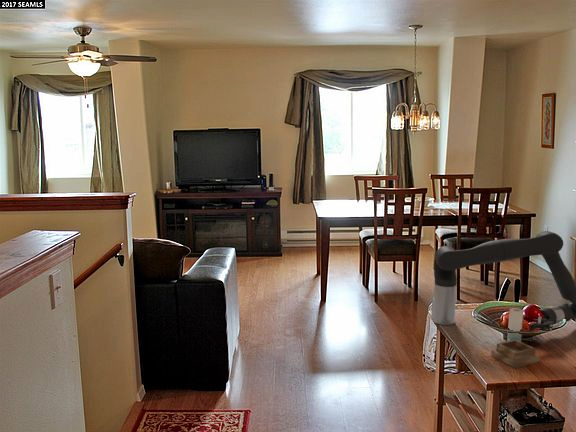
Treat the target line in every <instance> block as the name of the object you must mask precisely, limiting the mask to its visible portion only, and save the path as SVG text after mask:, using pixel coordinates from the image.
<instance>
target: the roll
mask: <svg viewBox="0 0 576 432" xmlns="http://www.w3.org/2000/svg"><path fill="white" fill-rule="evenodd" d="M523 311H524V310H523V309H522V308H517V307H512V308H509V311H508V313H509V315H508V325H507V326H508V327H507V329H508V328H509V329H510V330H513V331H520V330H521V329H522V330H523V322H524V321H523V319H524V318H523ZM506 337H507V340H506V341H510V340H514V339H516V340H518V341H520V342H522V334H519V333H508V332H507V336H506Z"/></svg>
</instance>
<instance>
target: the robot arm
mask: <svg viewBox="0 0 576 432" xmlns="http://www.w3.org/2000/svg"><path fill="white" fill-rule="evenodd" d="M563 247H564V240H563V238H562V236H560V235H559V234H557V233H556V232H552V231H550V230H543V231H540V232H538V233H537V234H536V236H534V237H530V238H529V237H528V238H502V239H496V240H490V241H486V242H483V243H481V244H479V245H476V246H474V247H472V248H467V249H458V250H455V249H454V248H453V247H451V246H447V245H443V246H440V247H439V248H438V249H437V250H436V252H435V254H434V261H433V262H434V266H433V269H434V270H433V275H434V286H433V287H434V289H433V290H434V291H433V298H432V301H431V320H432V321H433V323H435V324H438V325H441V326H451V325H453V324H455V320H456V319H455V318H456V317H455V316H456V301H457V284H458V280H457V279H458V277H457V270H459V269H463V268H467V267H473V266H478V265H487V264H492V263H493V264H495V263H501V262H506V261H512V260H516V259H521V258H526V257H531V256H541V257H543V259H544V261H545V263H546V265H547V266H548V269H549V270H550V272H551V275H552V277H553V281H555V284H556V287H557V289H558V292H559V293H560V296H561V297H562V299H563V300H566V301H569V302H565V303H563V304H561V305H560V304H559V305H557V306H549V307H544V308H540V309H538V310H539V311H541V313H542V314H543V315H544V317H545V318H543V319H542V316H539V317H538V319H533V320H534V321H535V322H538V323H529V325H528V329H529V330H530V331H532V330H535V329H538V330H540V329H541V330H542V331H547V329H548V330H550V328H551V329H553V328H554V326H555V325H554V324H556V323H559V322H560V321H562V320H563V319H566V321H567V322H568V323H569V322H570V321H571V320H572V319H573V320H576V281H575V280H574V278H573V275H572V273H571V272H570V271H569V269H568V268H567V266H566V264H565V263H564V261H563V259H562V257H561V254H560V252H561V250H562V249H563ZM567 322H566V323H567ZM542 323H543V324H542ZM553 325H554V326H553ZM545 326H546V327H545ZM552 327H553V328H552Z"/></svg>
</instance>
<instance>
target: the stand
mask: <svg viewBox="0 0 576 432" xmlns="http://www.w3.org/2000/svg"><path fill="white" fill-rule="evenodd" d="M490 353H491V354H490V356H491V357H493V358H495V359H496V360H499V361H501V362H503V363H504V364H506V365H509V366H510V367H512V368H514V369H519V368H522V367H526V366H531V365H533V364H536V363H539V362H541V356H539V355H538V354H536V348H535V347H533V346H530V345H528V344H527V343H524V342H522V341H521V342H520V341H518V340H516V339H514V340H510V341H507V340H506V341H503V342H499V343H497V344H496V349H492V350H491V352H490Z"/></svg>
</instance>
